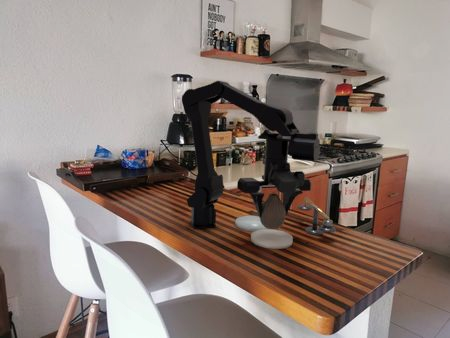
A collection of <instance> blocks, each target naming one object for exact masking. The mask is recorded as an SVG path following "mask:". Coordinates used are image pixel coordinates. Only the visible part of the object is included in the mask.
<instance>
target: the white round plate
mask: <svg viewBox="0 0 450 338" xmlns="http://www.w3.org/2000/svg"><path fill="white" fill-rule="evenodd" d="M235 226H236V227H237V229H240V230H242V231H247V232H252V233H253V232H254V231H257V230H262V229H268V228H265V227H264V226H263V225H262V223H261V221H260V217H259V216H258V215H244V216H240V217H237V218H236V219H235Z"/></svg>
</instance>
